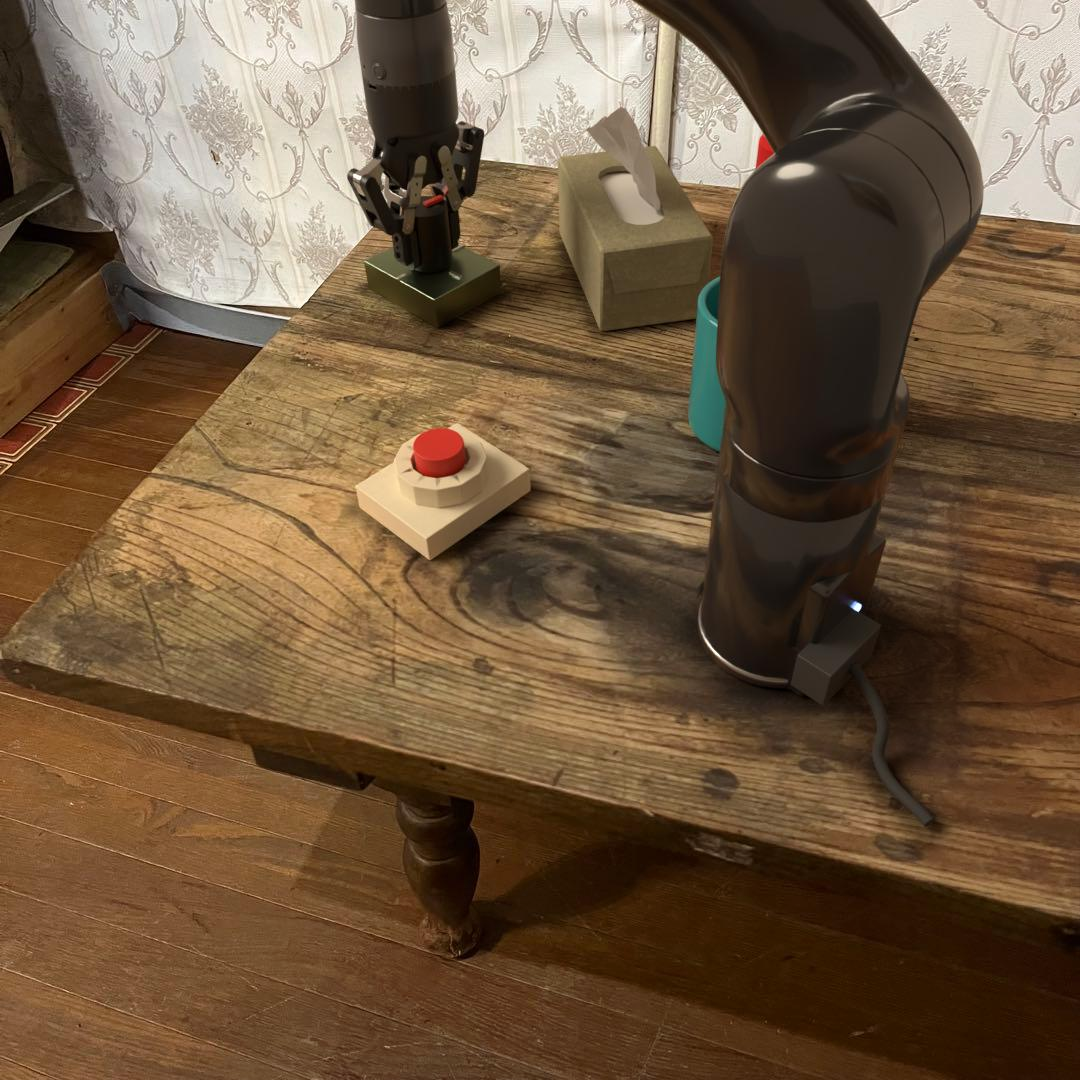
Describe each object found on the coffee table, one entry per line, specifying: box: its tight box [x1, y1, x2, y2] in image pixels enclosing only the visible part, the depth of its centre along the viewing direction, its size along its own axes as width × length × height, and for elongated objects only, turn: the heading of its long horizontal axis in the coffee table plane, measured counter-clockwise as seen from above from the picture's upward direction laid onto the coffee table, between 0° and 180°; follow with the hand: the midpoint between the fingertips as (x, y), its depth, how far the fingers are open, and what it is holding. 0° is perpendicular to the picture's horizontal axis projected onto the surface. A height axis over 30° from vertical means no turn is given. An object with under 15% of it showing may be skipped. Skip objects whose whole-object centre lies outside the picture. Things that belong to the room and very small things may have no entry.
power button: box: [413, 427, 466, 478], centre depth 74 cm, size 4×4×2 cm
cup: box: [687, 276, 726, 453], centre depth 77 cm, size 9×12×11 cm
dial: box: [413, 195, 453, 273], centre depth 93 cm, size 4×4×6 cm
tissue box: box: [557, 106, 714, 332], centre depth 93 cm, size 19×10×16 cm, turn 11°
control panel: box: [363, 243, 502, 329], centre depth 96 cm, size 10×8×3 cm
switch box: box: [354, 422, 532, 561], centre depth 76 cm, size 8×10×4 cm
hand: (428, 255), depth 95 cm, fingers closed on dial, 4 cm apart
